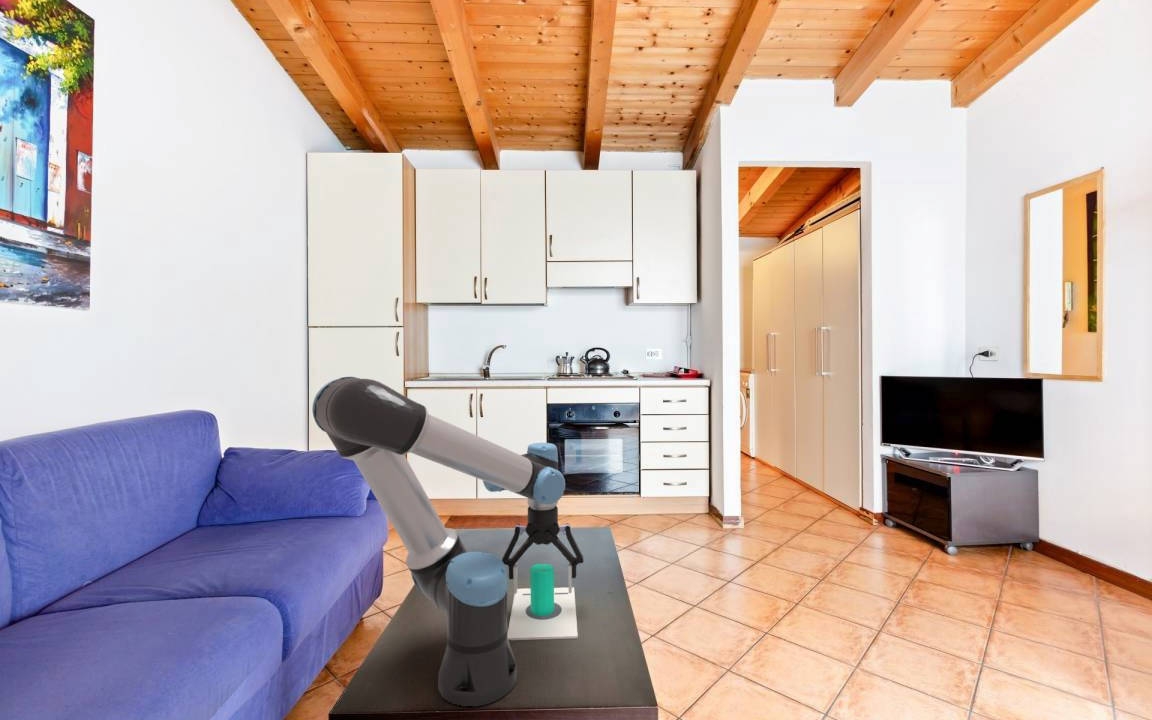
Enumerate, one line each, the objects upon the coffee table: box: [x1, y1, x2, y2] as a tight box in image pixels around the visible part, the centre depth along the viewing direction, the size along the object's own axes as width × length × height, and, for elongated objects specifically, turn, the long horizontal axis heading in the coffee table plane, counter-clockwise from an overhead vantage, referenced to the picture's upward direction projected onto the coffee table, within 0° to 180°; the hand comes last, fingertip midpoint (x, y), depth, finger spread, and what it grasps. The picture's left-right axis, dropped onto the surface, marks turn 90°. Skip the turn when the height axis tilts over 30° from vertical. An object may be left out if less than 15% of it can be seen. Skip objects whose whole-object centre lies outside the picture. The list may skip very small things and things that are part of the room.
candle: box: [529, 563, 555, 616], centre depth 125 cm, size 6×6×12 cm
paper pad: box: [507, 586, 579, 641], centre depth 125 cm, size 24×16×1 cm, turn 2°
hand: (542, 591), depth 124 cm, fingers open, 13 cm apart
